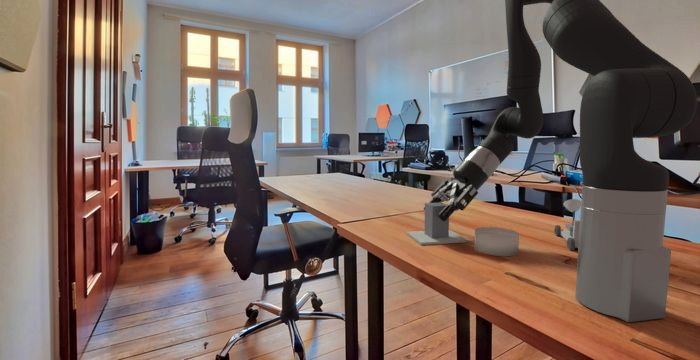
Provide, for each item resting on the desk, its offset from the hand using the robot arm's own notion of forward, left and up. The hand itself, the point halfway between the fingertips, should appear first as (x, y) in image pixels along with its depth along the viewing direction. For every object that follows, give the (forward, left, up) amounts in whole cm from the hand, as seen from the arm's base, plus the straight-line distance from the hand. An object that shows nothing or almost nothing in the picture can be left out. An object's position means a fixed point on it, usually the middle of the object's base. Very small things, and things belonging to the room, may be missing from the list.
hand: (433, 215), depth 83 cm
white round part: (-11, -10, -6) cm, 16 cm away
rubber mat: (0, -1, -6) cm, 6 cm away
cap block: (0, -1, -5) cm, 5 cm away
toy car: (-11, -35, -7) cm, 37 cm away
